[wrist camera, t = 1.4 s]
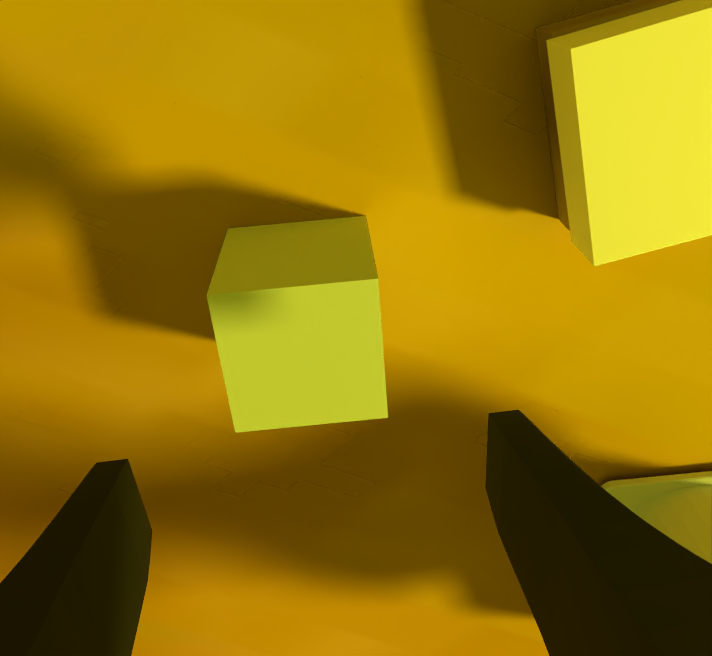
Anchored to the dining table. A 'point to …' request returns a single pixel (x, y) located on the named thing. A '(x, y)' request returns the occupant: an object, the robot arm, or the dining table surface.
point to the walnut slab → (639, 3)
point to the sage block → (299, 324)
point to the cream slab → (636, 129)
